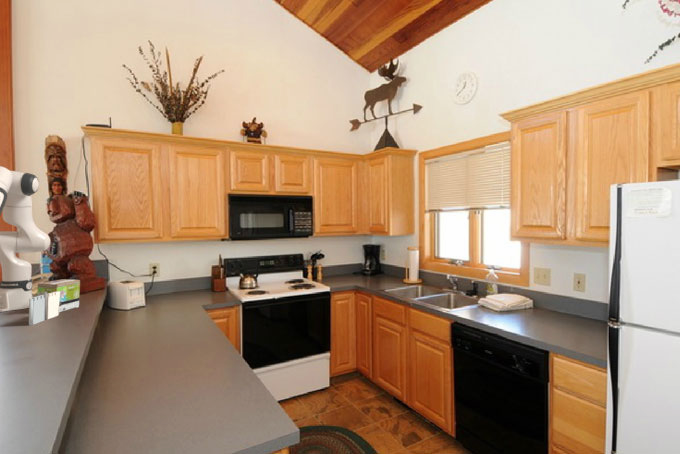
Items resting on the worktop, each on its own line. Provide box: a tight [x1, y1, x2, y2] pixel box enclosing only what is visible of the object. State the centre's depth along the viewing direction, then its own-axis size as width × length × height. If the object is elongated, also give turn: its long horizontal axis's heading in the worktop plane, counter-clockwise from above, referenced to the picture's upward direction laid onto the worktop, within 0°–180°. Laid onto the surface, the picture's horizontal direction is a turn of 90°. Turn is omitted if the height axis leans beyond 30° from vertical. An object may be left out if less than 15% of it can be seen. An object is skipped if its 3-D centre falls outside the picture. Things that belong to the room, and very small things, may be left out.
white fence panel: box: [44, 291, 60, 321], centre depth 162 cm, size 1×9×13 cm, turn 6°
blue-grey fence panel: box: [28, 295, 45, 326], centre depth 153 cm, size 8×1×11 cm, turn 6°
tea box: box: [36, 278, 81, 313], centre depth 177 cm, size 15×10×15 cm, turn 179°
